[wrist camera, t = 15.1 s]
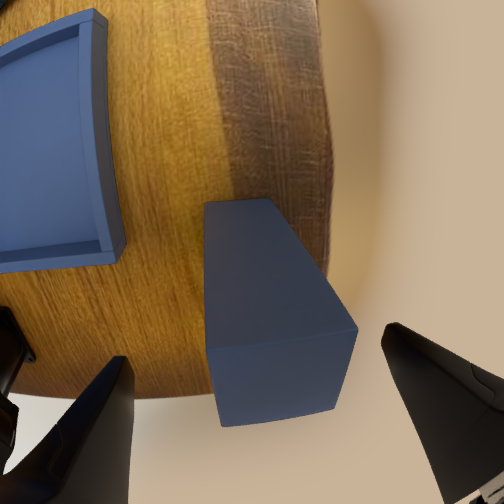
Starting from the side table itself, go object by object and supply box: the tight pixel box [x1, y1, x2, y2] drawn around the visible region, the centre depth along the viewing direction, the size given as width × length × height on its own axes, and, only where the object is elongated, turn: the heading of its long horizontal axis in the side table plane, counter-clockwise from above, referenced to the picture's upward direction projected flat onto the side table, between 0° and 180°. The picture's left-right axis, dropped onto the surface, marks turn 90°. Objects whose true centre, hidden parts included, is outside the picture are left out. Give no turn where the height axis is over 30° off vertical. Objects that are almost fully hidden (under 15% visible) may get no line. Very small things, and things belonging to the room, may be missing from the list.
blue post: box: [204, 198, 358, 427], centre depth 13 cm, size 4×4×12 cm
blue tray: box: [0, 8, 127, 273], centre depth 13 cm, size 15×13×3 cm
